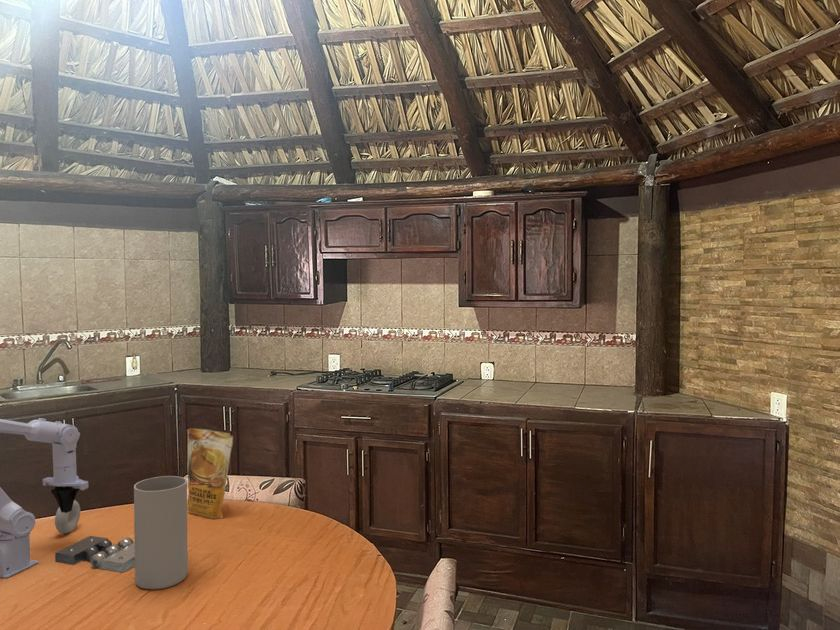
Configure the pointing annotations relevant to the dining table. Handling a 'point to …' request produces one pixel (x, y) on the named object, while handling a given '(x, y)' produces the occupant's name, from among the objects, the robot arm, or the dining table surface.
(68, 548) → the gunmetal leaf
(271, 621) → the dining table surface
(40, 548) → the dining table surface
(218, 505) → the pancake mix bag
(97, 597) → the dining table surface
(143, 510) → the cylinder vase
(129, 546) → the steel leaf
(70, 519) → the donut
